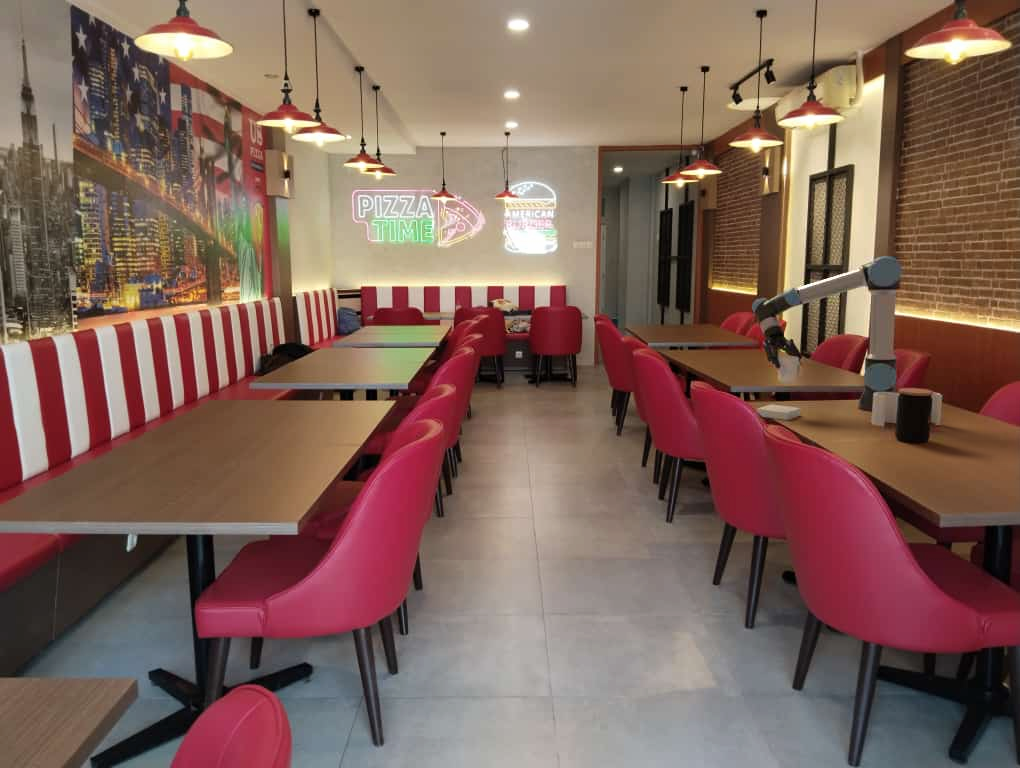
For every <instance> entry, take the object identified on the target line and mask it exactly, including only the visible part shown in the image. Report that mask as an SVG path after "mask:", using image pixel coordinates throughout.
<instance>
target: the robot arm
mask: <svg viewBox="0 0 1020 768" xmlns="http://www.w3.org/2000/svg"><path fill="white" fill-rule="evenodd" d="M902 269H903V268H902V265H901V263H900V261H899V260H898V259H897V258H895V257H893V256H891V255H890V256H889V255H883V256H879V257H876V258H875V259H873V260H872V261H870V262H868V263H866V264H862V265H860V267H859V268H857V269H854V270H851V271H847V272H844V273H841V274H838V275H835V276H831V277H828V278H826V279H822V280H819V281H815V282H813V283H812V282H811V283H809V284H806V285H805V284H804V285H802V286H800V287H796V288H795V287H790V288H788V289H785V290H784V291H783V292H781V293H779V294H777V295H775V296H774V297H772V298H770V299H768V298H766V297H761V298H758V299H756V300H755V301H754V302H753V303H752V306H751V309H752V311H753V315H754V317H755V319H756V321H757V323H758V325H759V327H760V329H761V331H762V333H763V336H764V338H765V339H764V341H763V342H762V346H763V347H764V351H765V353H766V357H767V361H768V362H770V363H771V364H772V365H775V368H776V369H777V371H778V370H779V372H780V374H781V376H783V375H784V374H785V373H786V371H785V368H784V366H783V364H782V362H781V360H780V359H779V349H780V350H781V351H782V352H785V354H787V356H796V357H799V361H798V370H797V374H798V375H799V376H802V374H804V372H805V370H804V369H803V367H802V366H803V365H802V362H801V360H802V358H803V355H802V353H801V351H800V350H799V349H798V347H797V346H796V345H797V344H795V341H794V339H793V338H791V339H787V338H786V337H785V333H784V330H783V328H782V327H781V324H780V322H779V319H778V318H777V316H779V315H781V314H782V313H784V312H786V311H789V310H790V309H792V308H794V307H797V306H801V305H804V304H808V303H811V302H814V301H817V300H818V301H819V300H820V299H824V298H829V297H832V296H835V295H838V294H842V293H844V292H848V291H852V290H856V289H858V288H862V287H866V288H867V291H868V292H869V293H870V294H871V306H870V307H871V308H870V333H869V353H868V354H867V355H866V356H864V373H863V381H864V384H863V385H864V386H863V392H862V394H861V396H860V398H859V401H858V405H857V407H858V409H859V410H862V411H867V412H872V407H873V394H874V393H875V392H893V393H895V385H896V382H897V379H898V375H897V368H898V367H897V365H898V361H897V360H898V357H897V356H896V355H895V354H894V341H895V340H894V339H895V338H894V337H895V316H896V315H895V313H896V294H897V293H898V292H900V290H901V280H902V279H901V276H902V272H903V270H902Z"/></svg>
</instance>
